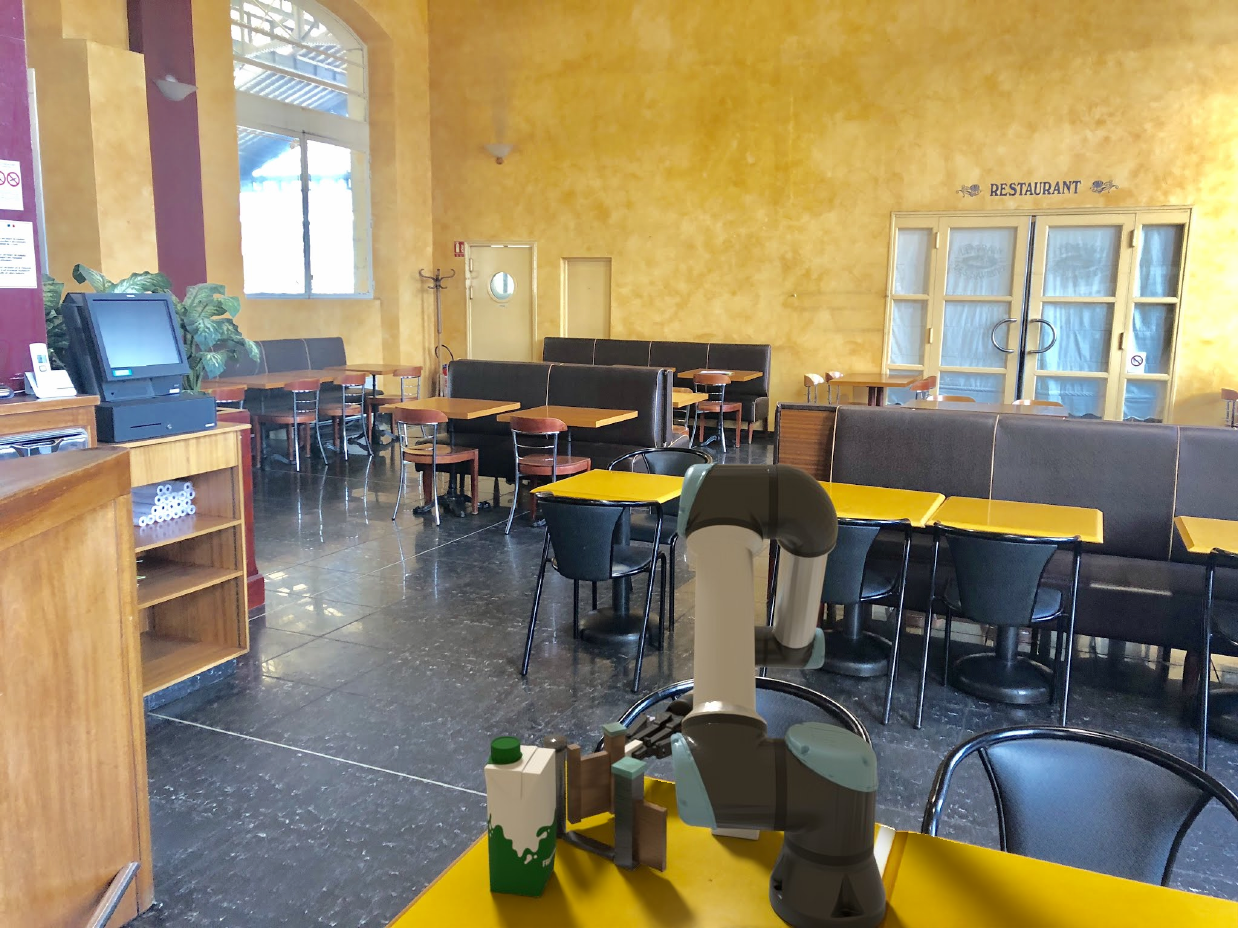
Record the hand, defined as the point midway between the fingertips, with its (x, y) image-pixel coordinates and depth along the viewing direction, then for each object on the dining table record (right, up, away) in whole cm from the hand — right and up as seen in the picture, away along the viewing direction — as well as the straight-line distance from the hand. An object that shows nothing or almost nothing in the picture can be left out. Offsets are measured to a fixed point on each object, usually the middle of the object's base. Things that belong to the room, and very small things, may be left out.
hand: (615, 763), depth 149 cm
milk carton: (-13, -10, -19) cm, 25 cm away
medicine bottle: (+19, -8, -4) cm, 21 cm away
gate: (-3, -7, -4) cm, 8 cm away
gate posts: (-2, -9, -12) cm, 15 cm away
